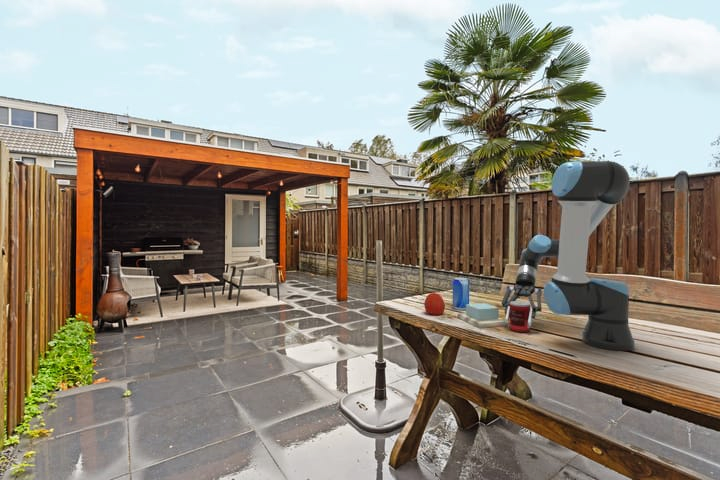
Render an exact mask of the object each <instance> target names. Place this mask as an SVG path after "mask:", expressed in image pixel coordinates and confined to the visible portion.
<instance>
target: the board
mask: <svg viewBox="0 0 720 480" xmlns="http://www.w3.org/2000/svg"><path fill="white" fill-rule="evenodd" d="M457 319H460V320H462V321H463V322H466V323H468V324H470V325H472V326H475V327H476V328H479V329H485V328H487V329H488V328H496V327H498V328H499V327H508V326H509V323H507V322H506V319H504V318H501V317H499V319H494V320H481V321H478V320H476V319H473V318H471V317H469V316H467V315H466V312H460V313H457Z"/></svg>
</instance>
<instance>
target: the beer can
mask: <svg viewBox="0 0 720 480" xmlns="http://www.w3.org/2000/svg"><path fill="white" fill-rule="evenodd" d="M466 304H470V282H469V281H468V278H466V277H455V278H454V279H453V281H452V307H453V309H454V310H456V311H466Z"/></svg>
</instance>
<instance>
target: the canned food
mask: <svg viewBox="0 0 720 480" xmlns="http://www.w3.org/2000/svg"><path fill="white" fill-rule="evenodd" d="M530 309H531V304H530V302H529V301H528V302H527V301H521V300H519V301H518V300H516V301H512V302H510V318H509V328H510V330H511V331H513V332H517V333H518V332H519V333H527V332H530V330H531V326H529V324H528V319H529V313H530Z"/></svg>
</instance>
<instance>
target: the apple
mask: <svg viewBox="0 0 720 480" xmlns="http://www.w3.org/2000/svg"><path fill="white" fill-rule="evenodd" d="M423 305H424V306H423V307H424V309H425V312H426V313H427V314H429V315H433V316H441V315H443V314H444V312H445V309H446V303H445V301H444V299H443V297H442V295H441V294H440V293H437V292H431V293H429V294H427V296H426V297H425V300H424V304H423Z"/></svg>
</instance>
